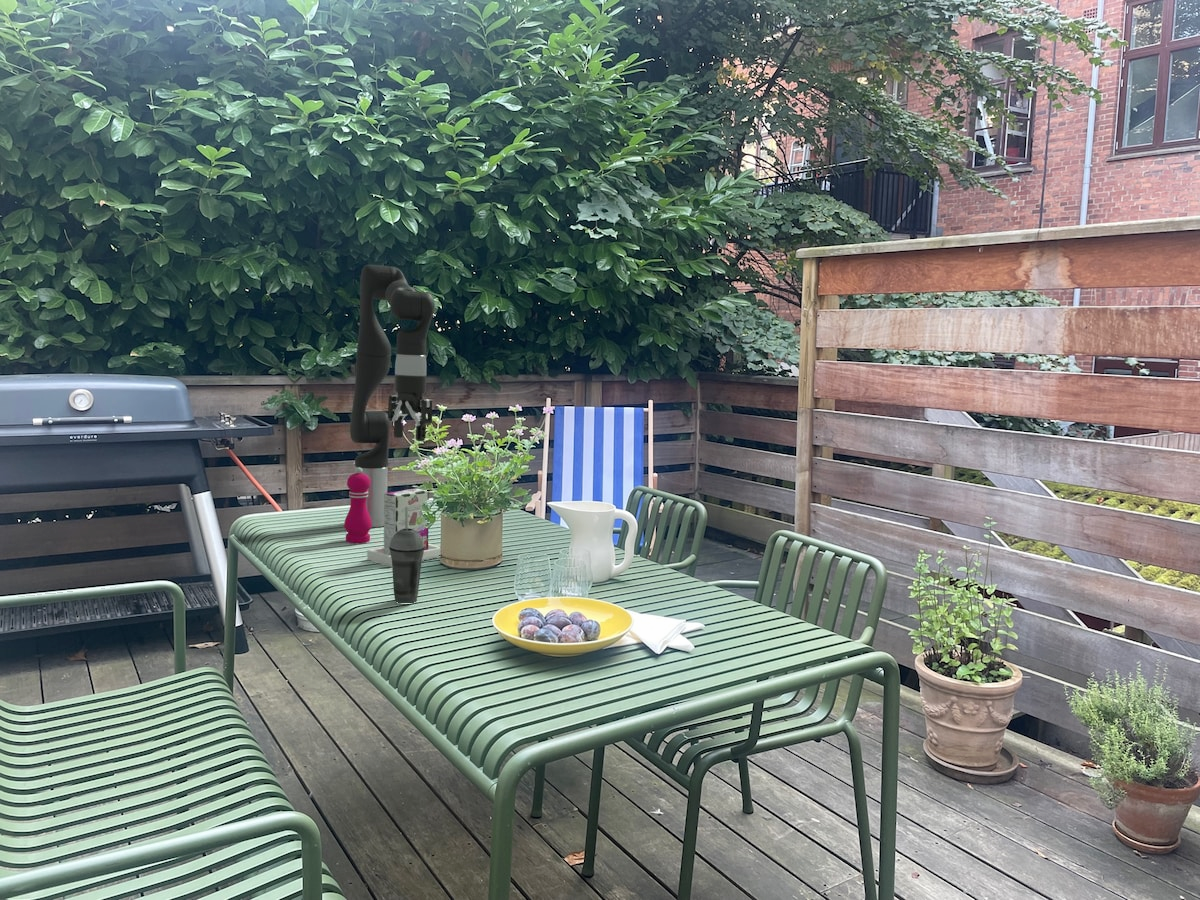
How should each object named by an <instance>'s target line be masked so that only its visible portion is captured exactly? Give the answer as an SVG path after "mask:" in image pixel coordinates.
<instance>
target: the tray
mask: <svg viewBox="0 0 1200 900" xmlns="http://www.w3.org/2000/svg"><path fill="white" fill-rule="evenodd" d="M440 547H441V546H438V545H435V544H431V543H428V550H424V554H423V558H422V562H425V561H424V560H427V561H430V560H429V559H432V560H434V559H433V558H437V557H439V555H440ZM366 555H367V559H368V561H370V560H371V562H374V563H378V564H381V565H383V566H387V567H390V568H392V558H391V555H388V554H384V546H383V547H379V548H371V549H367V553H366ZM367 559H366V560H367ZM437 559H438V558H437Z"/></svg>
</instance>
